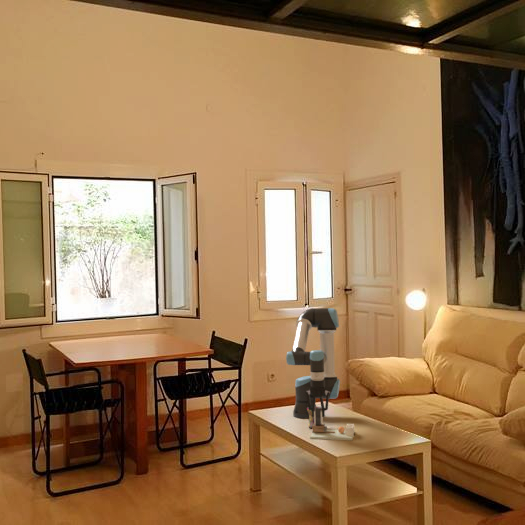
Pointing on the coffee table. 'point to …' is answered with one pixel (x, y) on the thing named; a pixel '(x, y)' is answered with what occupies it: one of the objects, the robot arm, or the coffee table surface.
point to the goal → (349, 429)
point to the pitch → (331, 435)
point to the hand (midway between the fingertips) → (318, 422)
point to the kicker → (318, 422)
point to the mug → (311, 419)
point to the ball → (341, 429)
